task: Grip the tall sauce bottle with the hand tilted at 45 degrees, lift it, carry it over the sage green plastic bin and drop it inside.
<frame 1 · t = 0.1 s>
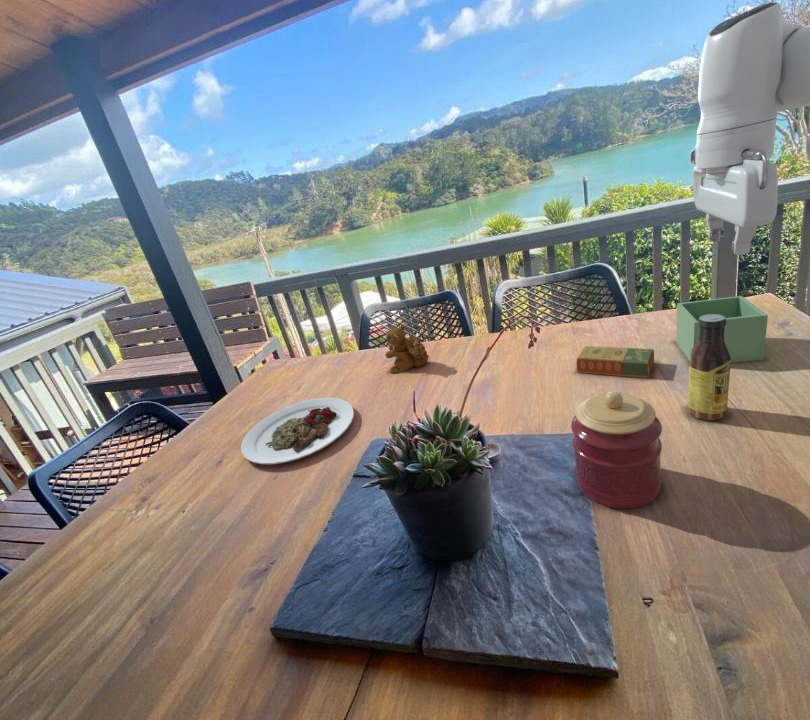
hand: (727, 246, 67), 34 cm above the table, tool pointing down, fingers open, 8 cm apart
stuffed squirrel: (411, 366, 138), on the table
bin: (716, 350, 105), on the table
kitchen canister: (617, 484, 74), on the table
sauce bottle: (706, 414, 85), on the table
plated food: (300, 433, 115), on the table
carton: (615, 369, 108), on the table
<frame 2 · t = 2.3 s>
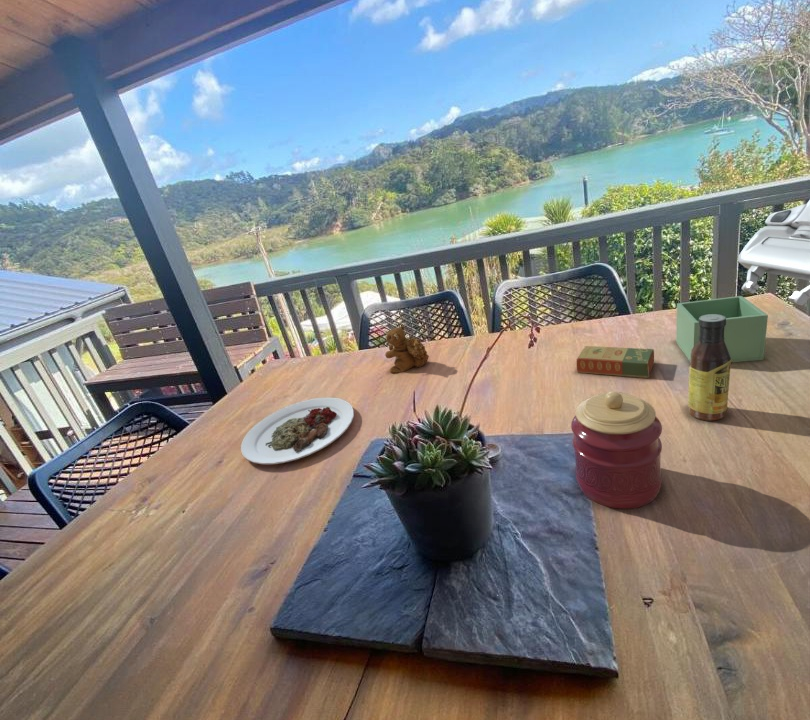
hand: (769, 297, 77), 21 cm above the table, tool tilted 40°, fingers open, 8 cm apart
nothing on the table moved.
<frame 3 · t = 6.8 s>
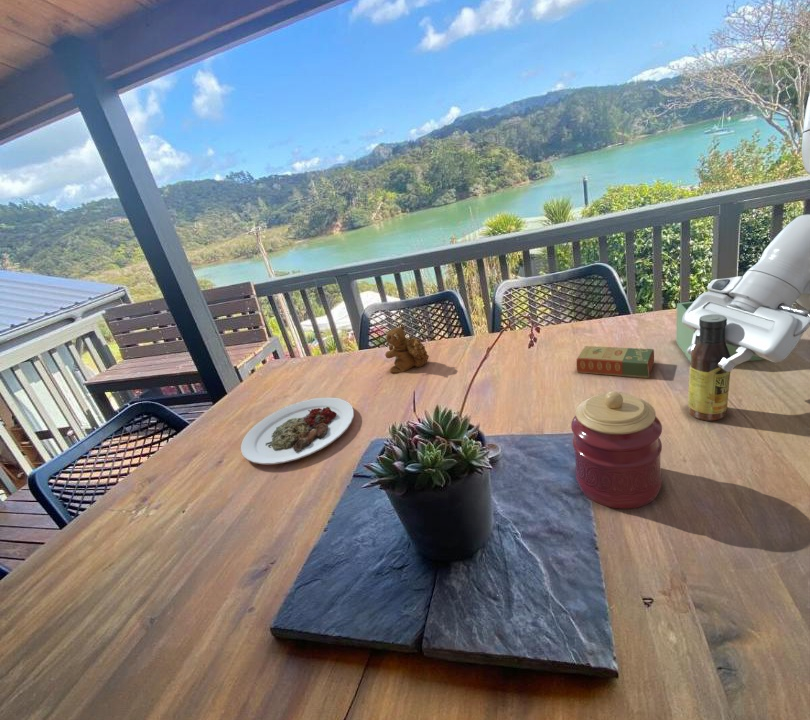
hand: (706, 361, 80), 11 cm above the table, tool tilted 45°, fingers closed on sauce bottle, 6 cm apart
sauce bottle: (706, 414, 85), on the table, touching gripper
everything else where it was.
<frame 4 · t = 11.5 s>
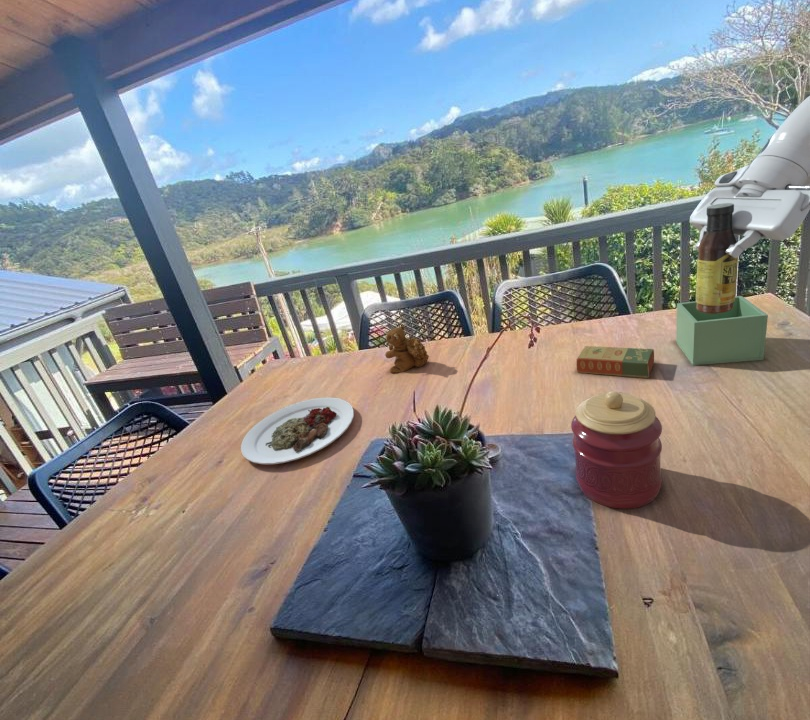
hand: (713, 253, 81), 29 cm above the table, tool tilted 45°, fingers closed on sauce bottle, 6 cm apart
sauce bottle: (714, 309, 86), point 17 cm above the table, touching gripper
everything else where it was.
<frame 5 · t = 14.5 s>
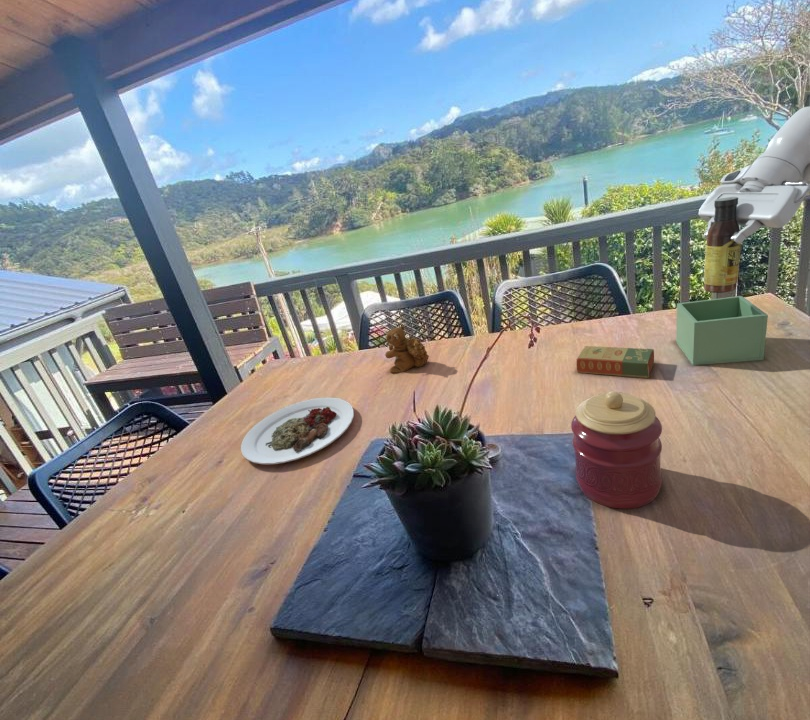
hand: (720, 240, 94), 27 cm above the table, tool tilted 45°, fingers closed on sauce bottle, 6 cm apart
sauce bottle: (720, 290, 99), point 15 cm above the table, touching gripper
everything else where it was.
when the fingers open (21 cm above the table, at t = 16.7 s): sauce bottle drops 9 cm, resting on bin.
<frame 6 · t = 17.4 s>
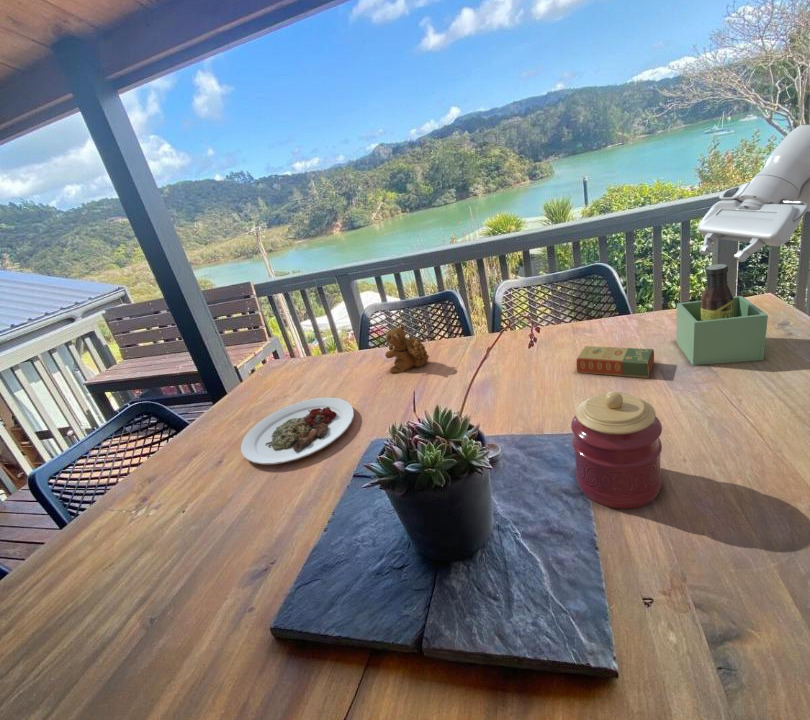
hand: (720, 256, 96), 23 cm above the table, tool tilted 45°, fingers open, 8 cm apart
sauce bottle: (717, 347, 105), point 1 cm above the table, touching bin
everything else where it was.
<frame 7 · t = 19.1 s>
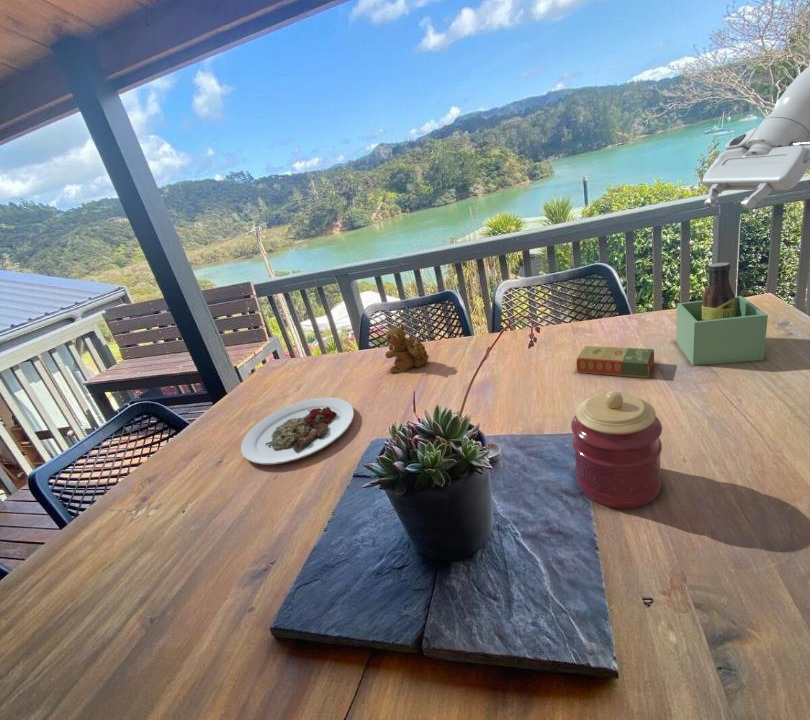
hand: (725, 206, 92), 34 cm above the table, tool tilted 45°, fingers open, 8 cm apart
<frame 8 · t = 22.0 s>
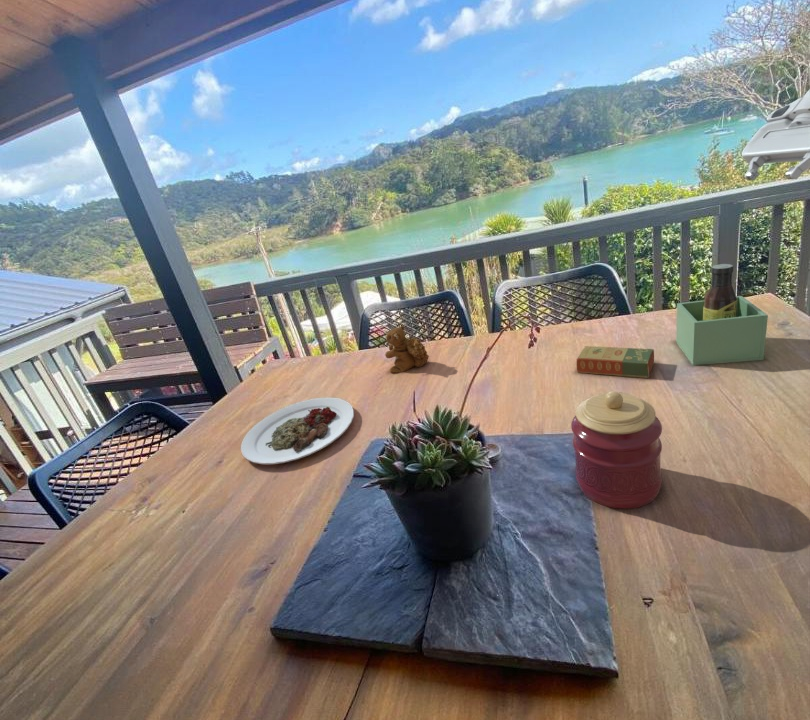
hand: (768, 178, 90), 37 cm above the table, tool tilted 45°, fingers open, 8 cm apart
at the end: sauce bottle inside the target area in the bin (0.4 cm from its centre), point 0.6 cm above the bin's base; the gripper is holding nothing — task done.
